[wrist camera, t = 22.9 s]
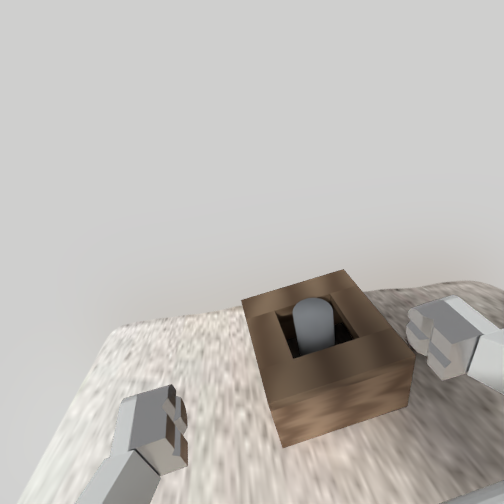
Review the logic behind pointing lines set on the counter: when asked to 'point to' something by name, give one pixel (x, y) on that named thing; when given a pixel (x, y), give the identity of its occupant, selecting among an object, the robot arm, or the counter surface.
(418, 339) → the robot arm
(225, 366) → the counter surface
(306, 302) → the grey rubber peg
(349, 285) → the walnut drop box
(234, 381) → the counter surface
